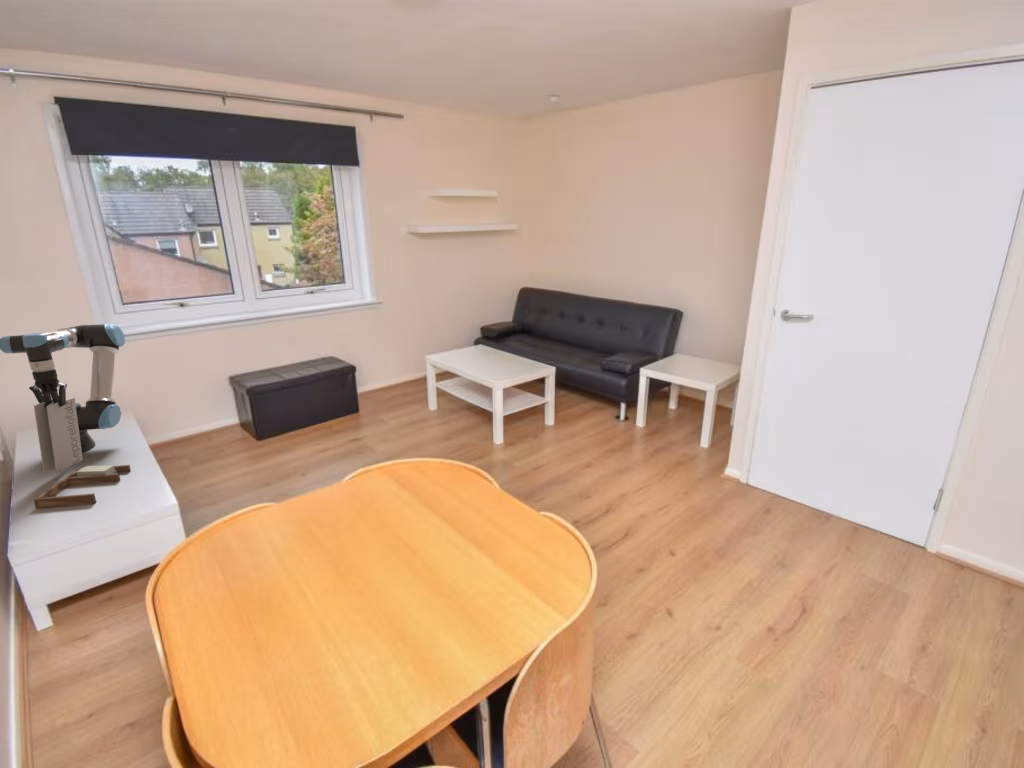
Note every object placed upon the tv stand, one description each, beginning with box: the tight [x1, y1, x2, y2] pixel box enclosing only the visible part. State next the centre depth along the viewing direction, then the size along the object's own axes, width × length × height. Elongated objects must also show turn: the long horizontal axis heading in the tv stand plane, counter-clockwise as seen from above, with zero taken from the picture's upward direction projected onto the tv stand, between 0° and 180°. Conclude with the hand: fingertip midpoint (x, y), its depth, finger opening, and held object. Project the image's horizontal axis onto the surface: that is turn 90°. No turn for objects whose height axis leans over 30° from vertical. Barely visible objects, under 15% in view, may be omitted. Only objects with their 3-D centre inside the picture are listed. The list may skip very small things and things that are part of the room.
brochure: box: [33, 397, 84, 473], centre depth 221 cm, size 14×6×30 cm, turn 2°
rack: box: [33, 464, 132, 510], centre depth 214 cm, size 28×21×4 cm
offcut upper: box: [77, 465, 115, 477], centre depth 222 cm, size 6×12×3 cm, turn 93°
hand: (58, 421), depth 219 cm, fingers closed
